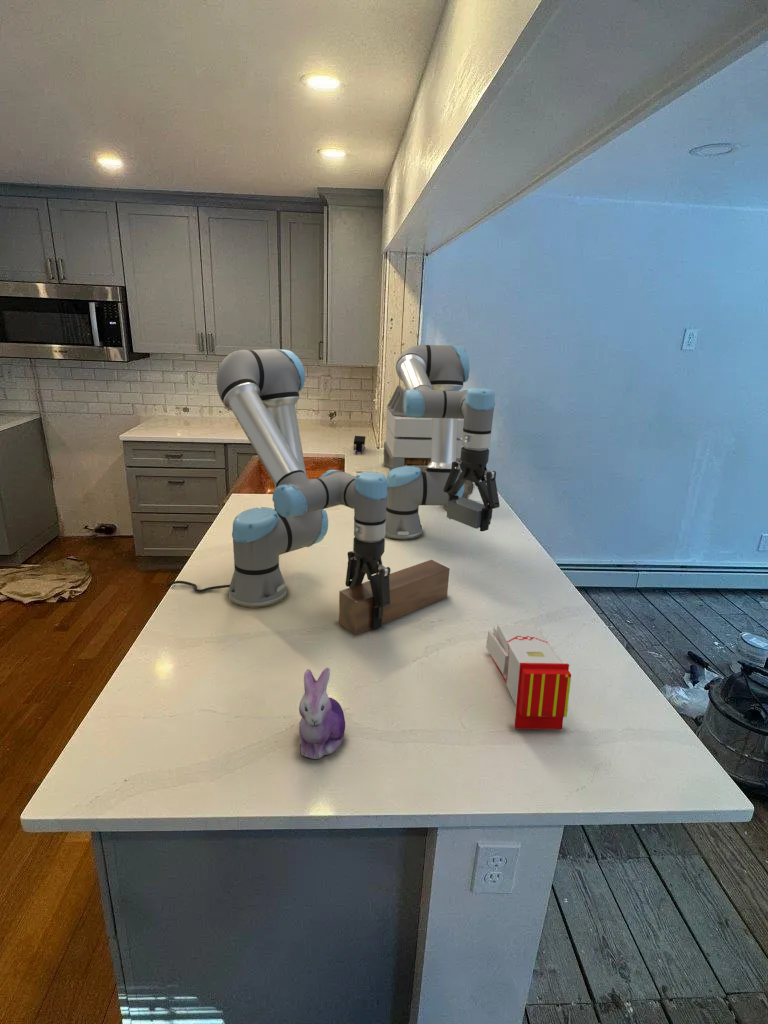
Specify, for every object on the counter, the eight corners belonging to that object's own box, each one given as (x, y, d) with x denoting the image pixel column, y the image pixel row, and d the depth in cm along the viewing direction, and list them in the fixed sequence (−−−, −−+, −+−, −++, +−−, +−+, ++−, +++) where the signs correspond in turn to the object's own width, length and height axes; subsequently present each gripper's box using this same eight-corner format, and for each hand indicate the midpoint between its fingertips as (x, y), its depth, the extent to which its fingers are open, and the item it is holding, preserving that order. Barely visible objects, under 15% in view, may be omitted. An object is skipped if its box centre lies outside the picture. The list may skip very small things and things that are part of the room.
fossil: (437, 485, 243) (466, 466, 238) (450, 501, 245) (479, 483, 240) (436, 507, 223) (469, 487, 218) (450, 525, 226) (482, 505, 221)
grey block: (446, 517, 161) (447, 500, 159) (460, 513, 165) (462, 496, 163) (476, 528, 153) (478, 511, 152) (490, 524, 157) (492, 507, 155)
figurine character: (365, 457, 304) (365, 447, 318) (365, 443, 301) (365, 434, 315) (352, 456, 304) (353, 447, 318) (352, 443, 301) (353, 434, 314)
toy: (533, 609, 133) (580, 670, 104) (528, 661, 136) (573, 736, 107) (482, 608, 133) (514, 669, 103) (478, 661, 135) (509, 735, 106)
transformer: (382, 463, 289) (386, 382, 275) (445, 464, 293) (451, 384, 279) (390, 482, 257) (394, 392, 243) (460, 483, 261) (468, 394, 247)
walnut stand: (338, 623, 142) (339, 591, 139) (429, 588, 162) (431, 559, 159) (355, 635, 137) (356, 602, 134) (447, 597, 157) (449, 568, 154)
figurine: (306, 770, 97) (306, 697, 91) (287, 731, 105) (286, 662, 100) (357, 752, 101) (359, 682, 96) (334, 717, 109) (335, 650, 104)
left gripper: (331, 527, 140) (330, 609, 148) (385, 555, 126) (380, 643, 134) (355, 521, 145) (353, 600, 153) (409, 547, 131) (404, 633, 138)
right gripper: (434, 440, 158) (429, 514, 165) (501, 458, 141) (492, 540, 149) (452, 437, 163) (446, 509, 170) (519, 454, 146) (509, 533, 153)
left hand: (366, 620), depth 143 cm, fingers open, 7 cm apart
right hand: (467, 524), depth 159 cm, fingers closed on grey block, 11 cm apart
